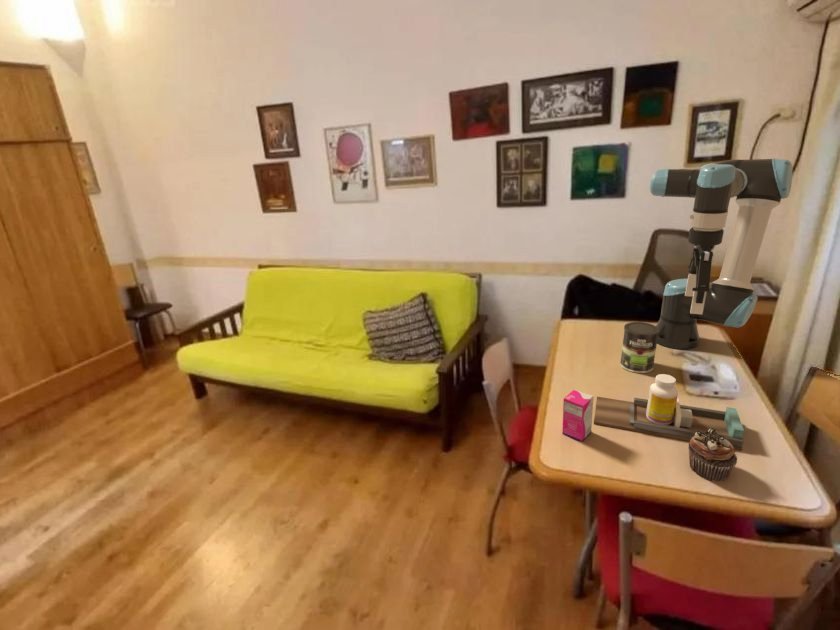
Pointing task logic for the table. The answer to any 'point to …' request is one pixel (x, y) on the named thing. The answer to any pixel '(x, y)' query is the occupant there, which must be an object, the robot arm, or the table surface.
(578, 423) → the supplement box
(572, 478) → the table surface
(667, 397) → the supplement bottle
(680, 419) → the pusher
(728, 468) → the cupcake
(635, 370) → the coffee can
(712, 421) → the dispenser stand
